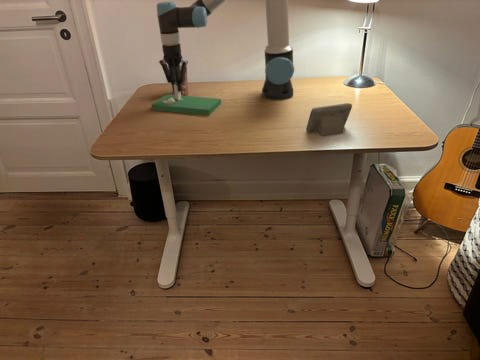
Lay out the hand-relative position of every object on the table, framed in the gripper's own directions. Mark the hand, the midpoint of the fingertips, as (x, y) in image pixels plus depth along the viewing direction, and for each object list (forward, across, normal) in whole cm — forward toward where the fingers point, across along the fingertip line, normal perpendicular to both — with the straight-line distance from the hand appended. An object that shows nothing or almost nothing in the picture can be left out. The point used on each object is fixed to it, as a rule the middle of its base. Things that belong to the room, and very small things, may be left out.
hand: (178, 98), depth 158 cm
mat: (+4, -4, 0) cm, 5 cm away
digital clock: (+4, -68, +10) cm, 69 cm away
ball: (+2, +4, 0) cm, 4 cm away
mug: (+4, +7, -16) cm, 18 cm away
